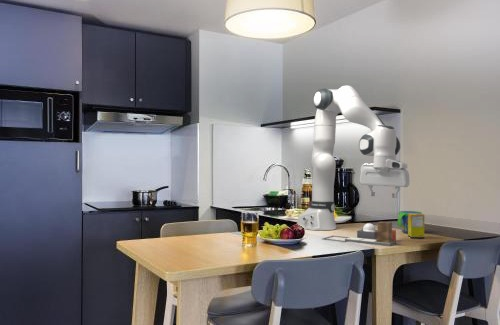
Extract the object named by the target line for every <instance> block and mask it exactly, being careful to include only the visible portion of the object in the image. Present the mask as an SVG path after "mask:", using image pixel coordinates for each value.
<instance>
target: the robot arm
mask: <svg viewBox="0 0 500 325" xmlns="http://www.w3.org/2000/svg"><path fill="white" fill-rule="evenodd" d="M312 101H313V105H314V107H315V108H316V113H315V116H314V124H313V140H312V141H313V142H312V151H311V162H310V163H311V164H310V166H311V168H312V170H313V172H312V184H311V185H312V186H311V200H310V201H309V202H308V201H307V205H308V208H306V210H304V211H303V212H301V213H300V214H299V215H298V218H297V222H296V224H298V225H300V226H302V227H303V228H304V230H310V231H330V230H337V225H336V220H335V209H336V208H335V201H334V199H335V198H334V197H335V196H334V194H335V193H334V191H335V188H334V186H335V178H336V167H337V166H336V165H337V163H336V159H335V156H334V151H335V150H334V149H335V145H336V144H335V143H336V130H337V128H336V127H337V116H338V114H340V115H341V116H343V117H344V119H346V121H348V122H349V123H353V124H355V125H356V124H357V125H361V126H364V127H366V128H368V129H370V130H371V132H368V133H366V134H363V135H362V136H361V138H360V139H359V140H358V149H359V151H360V153H361V154H362V155H364V156H368V157H373V162H372V163H363V164H361V166H360V175H359V184H360V185H361V186H363V185H364V186H367V190H368V191H369V196H370V197H376V195H375V194H376V192H375V191H373V188H374V186H377V187H378V186H380V187H393V188H394V189H395V191H394V192H393V193H392V194H391V195H392V196H391V198H393V199H397V198H398V193H399V192H400V190H401V188H408V187H409V186H410V173H409V170H407V169H408V164H407V163H405V162H401V161H399V160H397V155H398V154H399V152H400V150H401V143H400V139H399V138H398V137H397V132H396V131H397V130H396V128H395V126H391V125H386V124H385V123H384V122H383V121H382V120H381V118H380V117H379V116H378V114H377V113H376V112H374V111H373V110H372V109H371V108H369V107H368V105H367V104H366V103H365V101H364V100H363V98H362V97H361V96H360V94H359V93H358V91H357V90H356V89H355V88H354V87H353V86H351V85H347V84H346V85H342V86H340V88H338V89H337V88H336V89H330V88H329V89H328V88H321V89H320V88H319V89H317V90H316V92H315V93H314V95H313V100H312Z"/></svg>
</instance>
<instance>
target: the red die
mask: <svg viewBox="0 0 500 325" xmlns="http://www.w3.org/2000/svg"><path fill="white" fill-rule="evenodd" d="M392 239H393V241H395V240H396V241H397V231H396V229H392ZM396 241H395V242H396Z"/></svg>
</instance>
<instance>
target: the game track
mask: <svg viewBox="0 0 500 325" xmlns="http://www.w3.org/2000/svg"><path fill="white" fill-rule="evenodd" d="M344 241H347V242H350V243H358V244H368V245H375V246H376V245H377V246H383V247H384V246H385V247H391V246H393V245H396V244H397V241H393V242H390V243H382V242H376V240H375V239H366V238H357V236H356V237H355V236H350V238H345V239H344Z"/></svg>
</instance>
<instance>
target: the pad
mask: <svg viewBox="0 0 500 325" xmlns="http://www.w3.org/2000/svg"><path fill="white" fill-rule="evenodd" d="M334 237H336V238H345V239H347V238H350V237H351V236H350V237H348V236H341V235H340V236H339V235H329V236H326V237H322V238H321V240H326V241H333V242H334V241H335V242H341V243H346V242H348V241H345V240H341V239H331V238H334Z"/></svg>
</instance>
